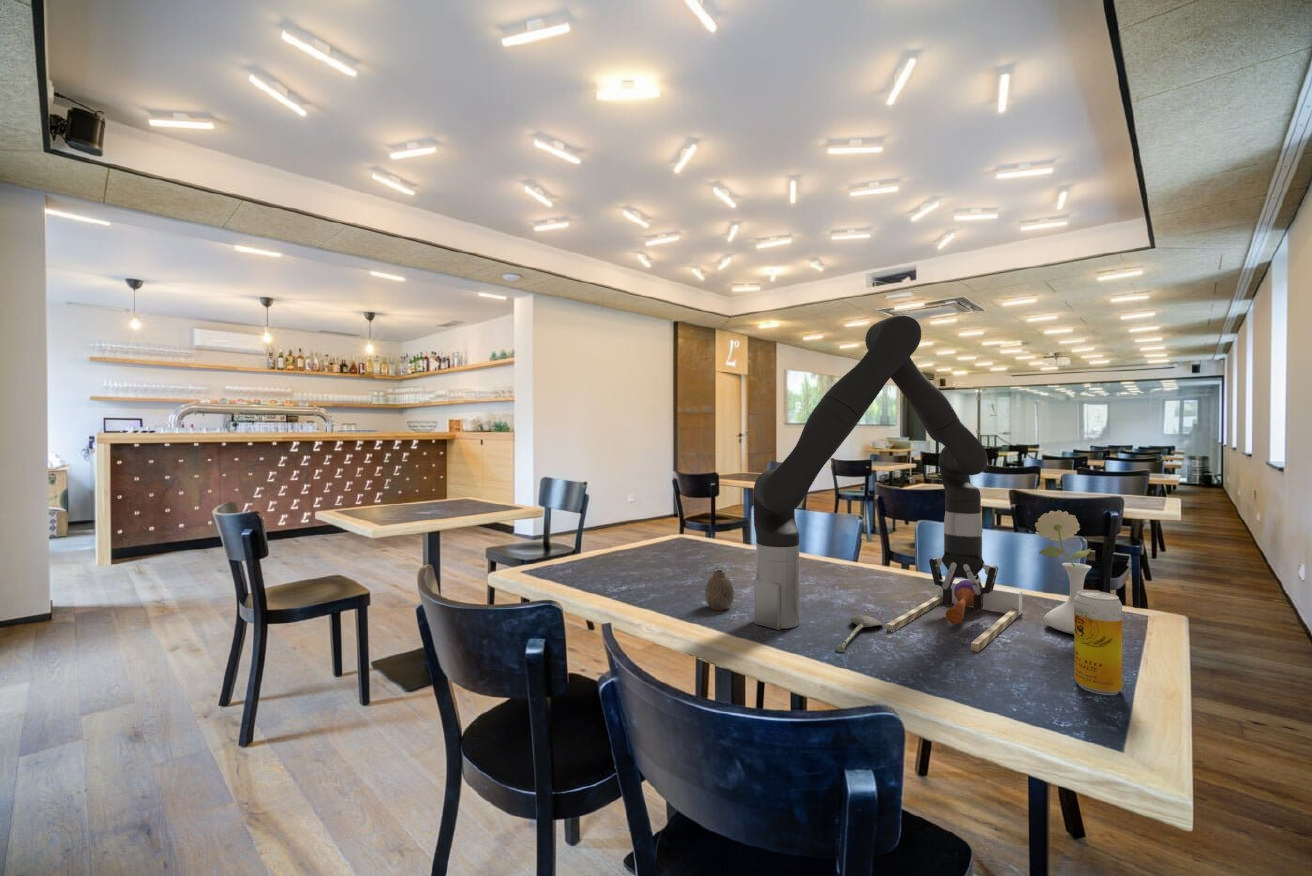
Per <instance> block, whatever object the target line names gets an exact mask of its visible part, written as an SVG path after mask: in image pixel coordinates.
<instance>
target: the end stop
mask: <svg viewBox="0 0 1312 876" xmlns="http://www.w3.org/2000/svg"><path fill="white" fill-rule="evenodd" d="M942 579H943V580H945V578H942ZM960 581H961V580H960ZM960 581H959V580H954V581H953V583H952V585H951V588H952V603H954V604H953V605H955V604H956V603H958V601H957V599H956V597H955V595H954V588H955V586H956V585H957V583H959V582H960ZM937 586H938V587H937V588H938V591H937V592H938V593H937V596H938V595H941V596H943V588H942V587H941V586H939V585H937ZM982 587H985V584H982ZM969 608H973V609H974V606H969ZM1012 608H1015V609H1019V616H1021V615H1022V614H1023V591H1021V590H1016V589H1010V588H1003V587H998V586H994V588H993V591H992V592H990V593H988V594H983V607H982V609H981V610H984V611H991V612H995V613H1002V614H1006V613H1008V612H1009V611H1010V610H1011V609H1012ZM1021 613H1022V614H1021Z"/></svg>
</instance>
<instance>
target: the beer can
mask: <svg viewBox="0 0 1312 876" xmlns="http://www.w3.org/2000/svg"><path fill="white" fill-rule="evenodd" d="M1073 635H1074V636H1073V637H1074V640H1073V641H1074V646H1073V647H1074V656H1073V657H1074V663H1073V664H1074V669H1073V670H1074V680H1075V681H1076V683H1077V684H1078V686H1079V687H1080V688H1081V689H1083V690H1085V691H1087V692H1090V693H1094V694H1098V695H1102V696H1116V695H1118V694H1119V692H1120V691H1122V690H1123V604H1122V602H1121V600H1120V597H1119V596H1118V595H1116V594H1114V593H1113V594H1112V593H1110V592H1104V591H1098V590H1083V591H1078V592H1077V595H1076V597H1075V598H1074V634H1073Z"/></svg>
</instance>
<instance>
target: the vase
mask: <svg viewBox="0 0 1312 876" xmlns="http://www.w3.org/2000/svg"><path fill="white" fill-rule="evenodd" d="M704 597H705V601H706V604H707V606H709V607H710V608H711V609H712V610H715V611H726V610H728V609H729V608H730V607H731V606H732V604H733V603H734V598H735V588H734V586H733V582H732V580H730V578H729V577H728V576H727V573H726V571H725V570H723V569H716V570H714V571H713V574H711V576H710V578H709V579H708V580H707V583H706V585H705V589H704Z"/></svg>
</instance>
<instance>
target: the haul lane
mask: <svg viewBox="0 0 1312 876" xmlns="http://www.w3.org/2000/svg"><path fill="white" fill-rule="evenodd" d="M942 602H943V596H941V595H938V594H937V595H935V596H934V597H933V598H930V599H929V600H926V601H924V602H923V603H922V604H920V605H917V606H916V607H915V608H913V609H911V610H909V611H907V612H905V613H903V614H902V615H900V616H898V617H897V618H895V619H894V620H891V621H890V622H888V623H886V631H887V630H888V631H887V632H889V631H892V632H891V633H894V632H895V631H894V630H896V629H898V628H899V627H901V628H903V627H904V626H906V625H907V623H908V624H909V623H910V622H911V623H912V620H913V621H914V620H916V619H918V618H919V617H921V616H922V614H923V613H924V612H926V613H928V612H929V611H931V610H933V609H934V608H936V607H938V606H939V605H941V604H943V603H944V602H943V603H942ZM940 603H941V604H940ZM938 604H939V605H938ZM937 605H938V606H937ZM935 606H936V607H935ZM933 607H934V608H933ZM932 608H933V609H932ZM930 609H931V610H930ZM927 611H928V612H927ZM924 614H925V613H924ZM924 614H923V615H924ZM920 615H921V616H920ZM918 616H919V617H918ZM917 617H918V618H917ZM1018 617H1020V615H1019V609H1015V608H1012V609H1011V610H1010V611H1009V612H1008V613H1004V615H1003V616H1001V617H1000V618H999V619H997V621H995V622H994V623H993V624H992V625H990V627H988V628H987V629H986V630H984V631H983V632H982V633H981V634H980V635H978V636H977V637H976V638H975V639H974V640H972V641H971V642H970V646H971V647H970V649H971V650H970V651H972V652H975V653H979V652H980V651H981V650H983V649H984V648H985V647H986V646H987V645H988V644H990V642H992V641H993V640H994V639H995V638H996V637H997V636H998V635H999V634H1000V633H1002V632H1003V631H1004V630H1005V629H1007V628H1008V626H1009V625H1010V624H1012V623H1013V622H1014V621H1015V620H1016V619H1017V618H1018ZM915 618H916V619H915ZM902 626H903V627H902ZM899 629H900V628H899ZM899 629H898V630H899ZM893 631H894V632H893ZM896 631H897V630H896Z"/></svg>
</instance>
